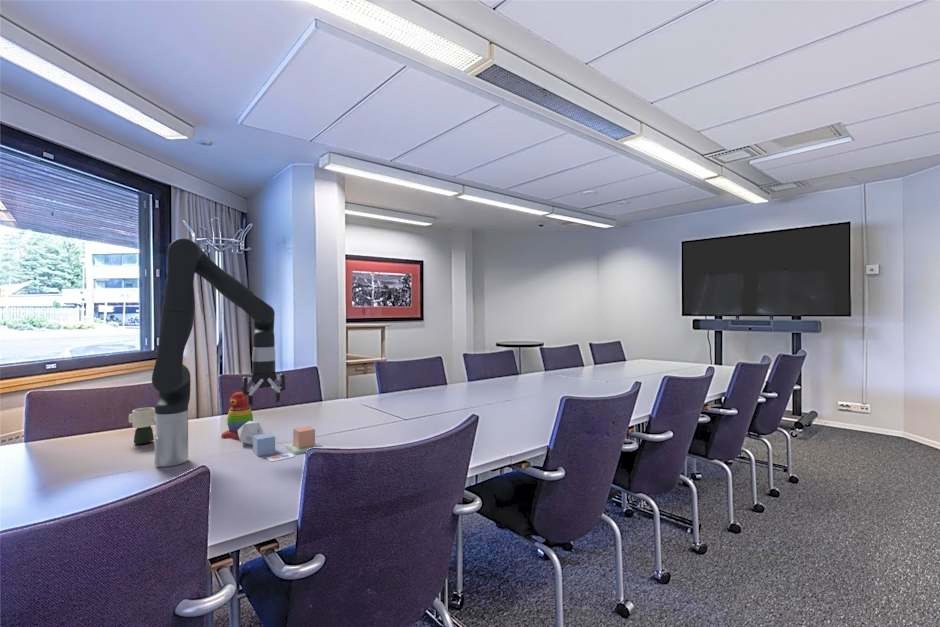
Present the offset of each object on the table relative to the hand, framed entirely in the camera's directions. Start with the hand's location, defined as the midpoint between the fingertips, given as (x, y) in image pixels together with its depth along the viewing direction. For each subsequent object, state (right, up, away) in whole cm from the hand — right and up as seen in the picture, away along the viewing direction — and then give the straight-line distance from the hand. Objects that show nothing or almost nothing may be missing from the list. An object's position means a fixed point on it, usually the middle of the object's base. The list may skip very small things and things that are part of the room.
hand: (263, 404), depth 161 cm
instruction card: (+8, -18, -5) cm, 20 cm away
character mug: (-51, -17, +10) cm, 55 cm away
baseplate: (+13, -18, +5) cm, 22 cm away
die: (-10, -18, +11) cm, 23 cm away
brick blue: (0, -18, 0) cm, 18 cm away
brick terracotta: (+13, -16, +5) cm, 21 cm away
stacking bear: (-20, -17, +21) cm, 34 cm away
